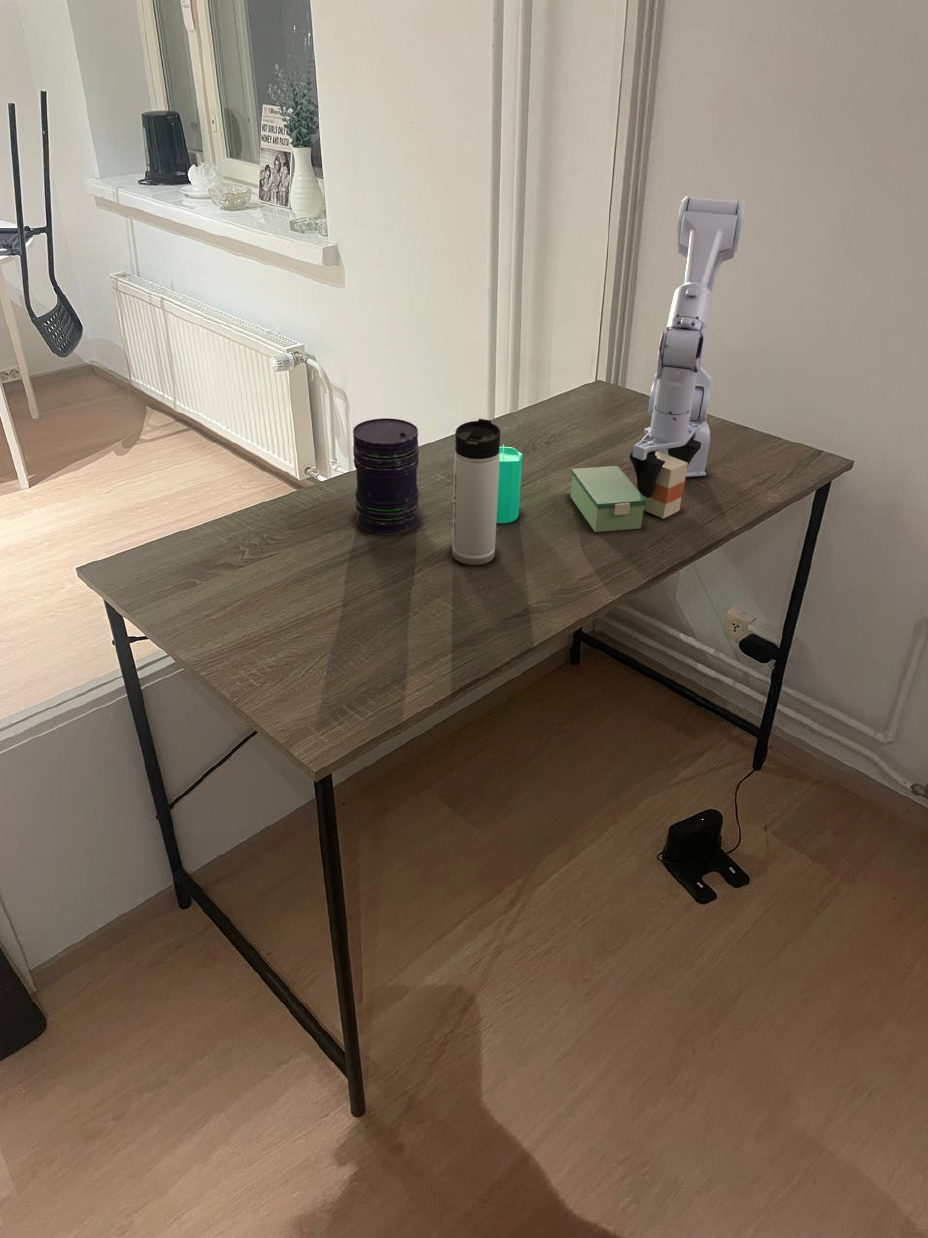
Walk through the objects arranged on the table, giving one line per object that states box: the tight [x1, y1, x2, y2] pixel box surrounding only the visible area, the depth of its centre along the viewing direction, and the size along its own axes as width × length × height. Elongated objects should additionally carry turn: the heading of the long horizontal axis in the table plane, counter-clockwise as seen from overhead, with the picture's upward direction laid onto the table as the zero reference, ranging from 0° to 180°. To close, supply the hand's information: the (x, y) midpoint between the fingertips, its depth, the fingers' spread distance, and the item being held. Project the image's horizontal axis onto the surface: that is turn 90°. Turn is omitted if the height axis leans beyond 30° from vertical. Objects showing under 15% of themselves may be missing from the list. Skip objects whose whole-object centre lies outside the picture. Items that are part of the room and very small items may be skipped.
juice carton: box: [635, 451, 688, 519], centre depth 147 cm, size 4×6×8 cm
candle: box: [496, 443, 523, 524], centre depth 142 cm, size 6×6×12 cm
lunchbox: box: [570, 465, 647, 533], centre depth 146 cm, size 8×14×5 cm, turn 12°
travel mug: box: [452, 418, 501, 566], centre depth 129 cm, size 6×7×20 cm
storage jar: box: [352, 417, 420, 536], centre depth 139 cm, size 10×10×15 cm
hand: (659, 488), depth 147 cm, fingers open, 7 cm apart
